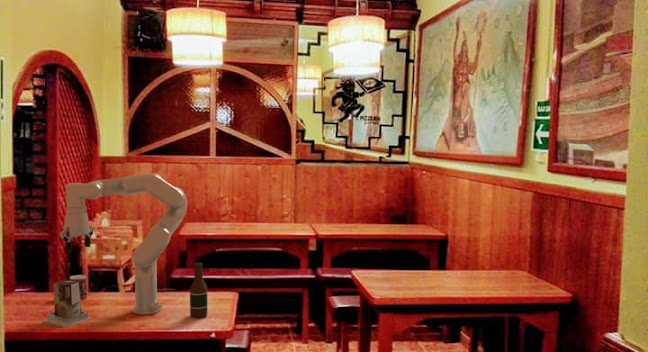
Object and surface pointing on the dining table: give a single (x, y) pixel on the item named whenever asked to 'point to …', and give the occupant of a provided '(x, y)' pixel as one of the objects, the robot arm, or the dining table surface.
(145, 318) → the dining table surface
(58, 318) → the plate
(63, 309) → the coffee box
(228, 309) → the dining table surface
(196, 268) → the beer bottle
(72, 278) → the canned food
